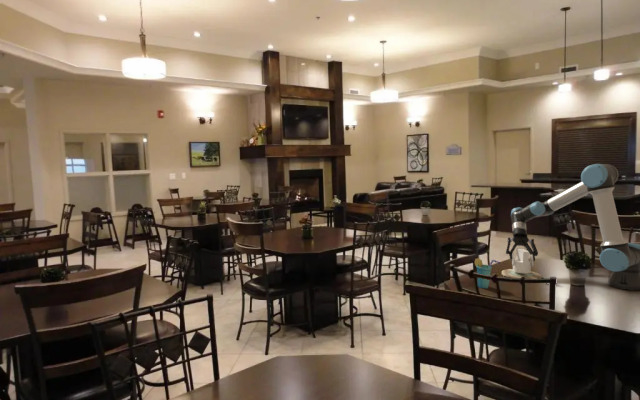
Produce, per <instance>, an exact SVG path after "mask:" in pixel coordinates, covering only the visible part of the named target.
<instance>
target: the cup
mask: <svg viewBox="0 0 640 400" xmlns="http://www.w3.org/2000/svg"><path fill="white" fill-rule="evenodd" d="M493 263H497V264H500V263H501V262H500V261H498V260H496V259H492V260H491V261H490V264H489V265H488V264H483V261H482V259H481V258H479V257H477V258H475V259H474V266H475V267H476V274H477V273H479V274H483V275H489V276H490V277H491V273H492V268H493V267H492V265H493ZM476 278H477V277H476ZM489 284H490V280H487V279H482V278H477V287H478V288H479V289H489Z"/></svg>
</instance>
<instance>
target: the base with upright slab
mask: <svg viewBox="0 0 640 400" xmlns="http://www.w3.org/2000/svg"><path fill="white" fill-rule="evenodd" d="M515 255H516V256H515V258H514V262H515V264H514V266H512V269H513V271H514V272H517V273H525V274H526V273H530V271H532V270H531V269H532V267H531V260H529V259H530V253H529V252H528V250H527V249H524V248H522V247H521V248H519V247H518V248H517V247H516V254H515Z"/></svg>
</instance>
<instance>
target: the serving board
mask: <svg viewBox="0 0 640 400" xmlns="http://www.w3.org/2000/svg"><path fill="white" fill-rule="evenodd" d="M502 275H503V276H502ZM501 276H502V277H504V276H506V277H511V278H521V277H525V278H528V279H541V280H542V274H540V273H538V272H536V271H532V270H530V273H526V274H525V273H517V272H514V271H513V268H507V269H503V270H501ZM506 277H505V278H506Z"/></svg>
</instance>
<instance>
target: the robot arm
mask: <svg viewBox="0 0 640 400" xmlns="http://www.w3.org/2000/svg"><path fill="white" fill-rule="evenodd" d="M580 180H581V181H580V182H578V183H576V184H574V185H572V186H570V187H569V188H567V189H565V190H564V191H561V192H560V193H558V194H556V195H554V196H552V197H551V198H549V199H547V200H545V201H544V202H543V201H542V202H540V201H538V200H537V201H534V202H532V203H531V204H529V205H527V206H525V207H524V208H523V207H520V206H518V207H514V208H512V209H511V211H510V218H511V228H512V237H508V238H507V245H506V250H505V254H506V255H509V260H511V265H512V267H513V266H514V264H515V262H514V259H515V253H514V251H515V250H516V249H517V246H518V247H520V246H521V247H524V248H525V250H526V251H528V252H529V259H530V261H531V268H534V265H535V264H534V263H535V260H536V257H537V256H538V255H539V252H538V249H537V246H536V244H535V239H533V238H532V239H529V238H528V231H527V222H528V221H531V220H532V219H535V218H540V217H546V216H547V217H548V216H550V215H553V214H554V212H555V211H558V210H559V209H561V208H563V207H566V206H568V205H569V204H572V203H573V202H576V201H578V200H579V199H581V198H583V197H585V196H587V195H589V194H590V195H591V196H592V199H593V205H594V209H595V213H596V217H597V218H596V219H597V222H598V227H599V231H600V235H601V240H602V242H601V243H600V255H599V261H600V264H601V265H602V267H603V268H604V269H606V270H607V271H610V272H611V274H610V276H609V278H608V282H607V284H608V285H609V286H611V287H613V288H617V289H620V290H625V289H628V290H627V291H634V290H639V289H640V243H632V242H628V241H627V240H625V238H624V236H623V233H622V229H621V224H620V220H619V215H618V212H617V208H616V207H617V206H616V203H615V200H614V199H615V198H614V195H613V192H614V190H615V184H616V182H617V180H619V171H618V169H617V168H616V167H615V166H614V165H612V164H609V163H595V164H591V165H590V164H589V165H588V166H586V167H585V168H584V169H583V170H582V172H581V174H580ZM512 242H513V243H514V244H513V246H512V248H511V249H510V247H511V243H512ZM529 244H530V245H529ZM639 291H640V290H639Z"/></svg>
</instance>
